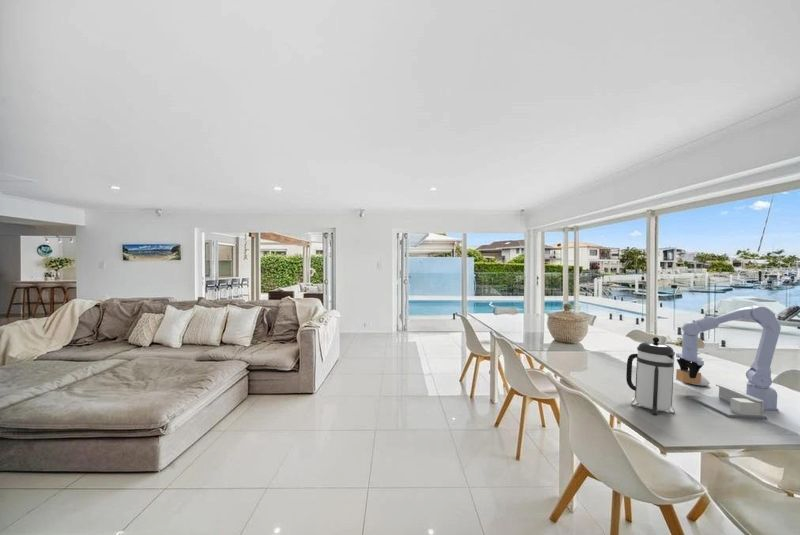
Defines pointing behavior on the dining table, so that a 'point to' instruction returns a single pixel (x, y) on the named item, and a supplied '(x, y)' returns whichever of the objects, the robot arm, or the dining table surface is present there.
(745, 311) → the robot arm
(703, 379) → the flower in vase
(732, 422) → the dining table surface
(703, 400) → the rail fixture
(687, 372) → the block
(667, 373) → the coffee press
